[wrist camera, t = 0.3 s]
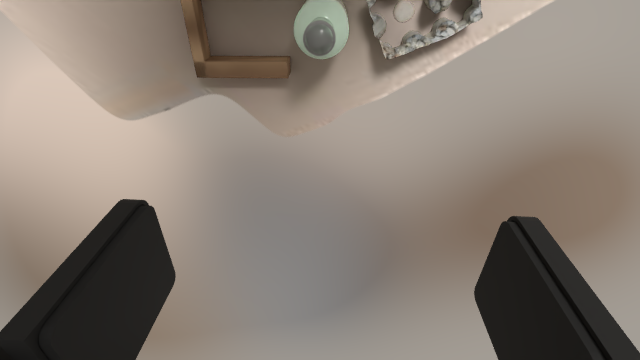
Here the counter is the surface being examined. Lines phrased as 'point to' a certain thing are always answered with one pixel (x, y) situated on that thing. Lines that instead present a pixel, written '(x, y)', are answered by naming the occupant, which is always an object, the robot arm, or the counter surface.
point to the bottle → (321, 28)
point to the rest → (226, 64)
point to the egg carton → (413, 39)
